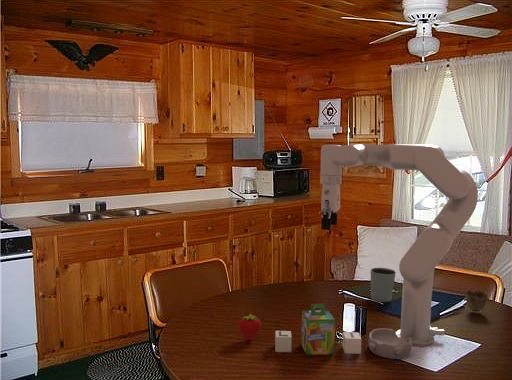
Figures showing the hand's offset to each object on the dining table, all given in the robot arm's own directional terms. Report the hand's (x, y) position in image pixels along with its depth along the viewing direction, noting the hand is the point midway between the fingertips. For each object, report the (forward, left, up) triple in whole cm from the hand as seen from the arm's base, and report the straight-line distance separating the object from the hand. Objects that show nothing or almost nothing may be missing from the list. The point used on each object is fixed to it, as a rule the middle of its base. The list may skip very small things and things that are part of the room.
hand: (329, 227), depth 186 cm
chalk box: (+6, +23, -36) cm, 43 cm away
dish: (-17, +23, -36) cm, 46 cm away
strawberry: (+28, +17, -36) cm, 48 cm away
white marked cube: (+17, +23, -36) cm, 46 cm away
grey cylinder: (-26, -28, -36) cm, 52 cm away
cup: (-59, -13, -36) cm, 70 cm away
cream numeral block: (-5, +23, -36) cm, 43 cm away
